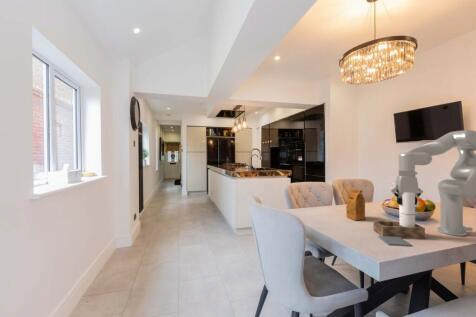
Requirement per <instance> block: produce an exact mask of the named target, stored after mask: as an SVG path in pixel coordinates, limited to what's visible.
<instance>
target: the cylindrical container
mask: <svg viewBox="0 0 476 317" xmlns="http://www.w3.org/2000/svg"><path fill="white" fill-rule="evenodd" d="M401 198H402V205H399V204H398V206H399V208H398V209H399V211H398V212H399V216H398V217H399V218H398V219H399V221H398V222H399V225H401V226H403V227H415V224H416V205H415V193H406V192H403V194H402V196H401Z"/></svg>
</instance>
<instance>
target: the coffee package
mask: <svg viewBox="0 0 476 317" xmlns="http://www.w3.org/2000/svg"><path fill="white" fill-rule="evenodd" d="M362 193H363V190H361V189H353V188H352V187H351V188H350V189H349V192H348V195H347V198H346V210H345V211H346V214H345V215H346V218H349V219H350V220H353V221H360V220H361V221H363V220H366V199H365V197H364V195H363V194H362Z"/></svg>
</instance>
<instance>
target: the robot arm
mask: <svg viewBox="0 0 476 317" xmlns="http://www.w3.org/2000/svg"><path fill="white" fill-rule="evenodd" d="M455 147H456V149H457V152H458V155H459V157H458V159H457V161H456V162H455V163H454V165H453V167H452V169H451V170H450V172H449V175H450V177H451V179H443V180H441V181H439V183H438V185H437V189H438V193H439V199H440V205H439V206H440V227H437V228H436V230H437V231H438V232H440V233H442V234H445V235H449V236H456V237H464V236H465V237H466V236H467V235H468V233H467V231H469V232H470V231H471V232H472V231H473V227H472V226H471V227H470V226H468V227H467V226H466V225H464V203H463V201H462V198H464V199H465V198H466V199H473V198H475V197H476V153H475V152H476V130H471V129H465V130H463V129H462V130H456V131H450V132H447V133H446V134H444V135H442V136H440V137H438V138H437V139H435V140H433V141H432V142H427V143H425V144H422V145H420V146H418V147H415V148H412V149H410V150H409V151H407V152H401V153H398V175H397V176H396V179H395V185H394V187H393V188H392V189H391V190H390V192H391V193H392V194H393V196H395V197H396V203H397V205H398V206H399V205H402V198H401V196H402V194H403V192H406V193H415V206H417V205H418V199H419V197H420V196H421V195H422V194H423V193H424V191H423V190H422V189H421V188H419V182H418V181H419V180H418V178H417V176H416V175H418V171H416V166H428V165H429V164H431V163H432V160H433V156H439V155H442V154H446V153H447V152H449V151H450V150H452V149H454V148H455Z"/></svg>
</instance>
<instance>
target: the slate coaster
mask: <svg viewBox="0 0 476 317" xmlns="http://www.w3.org/2000/svg"><path fill="white" fill-rule="evenodd" d="M377 238H378V239H380V240H381V241H382V242H383V243H384V244H386V245H388V246H399V247H401V246H402V247H413V244H412V243H410V242H408V241H407V240H405V238H400V237H392V236H381V235H378V236H377Z"/></svg>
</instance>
